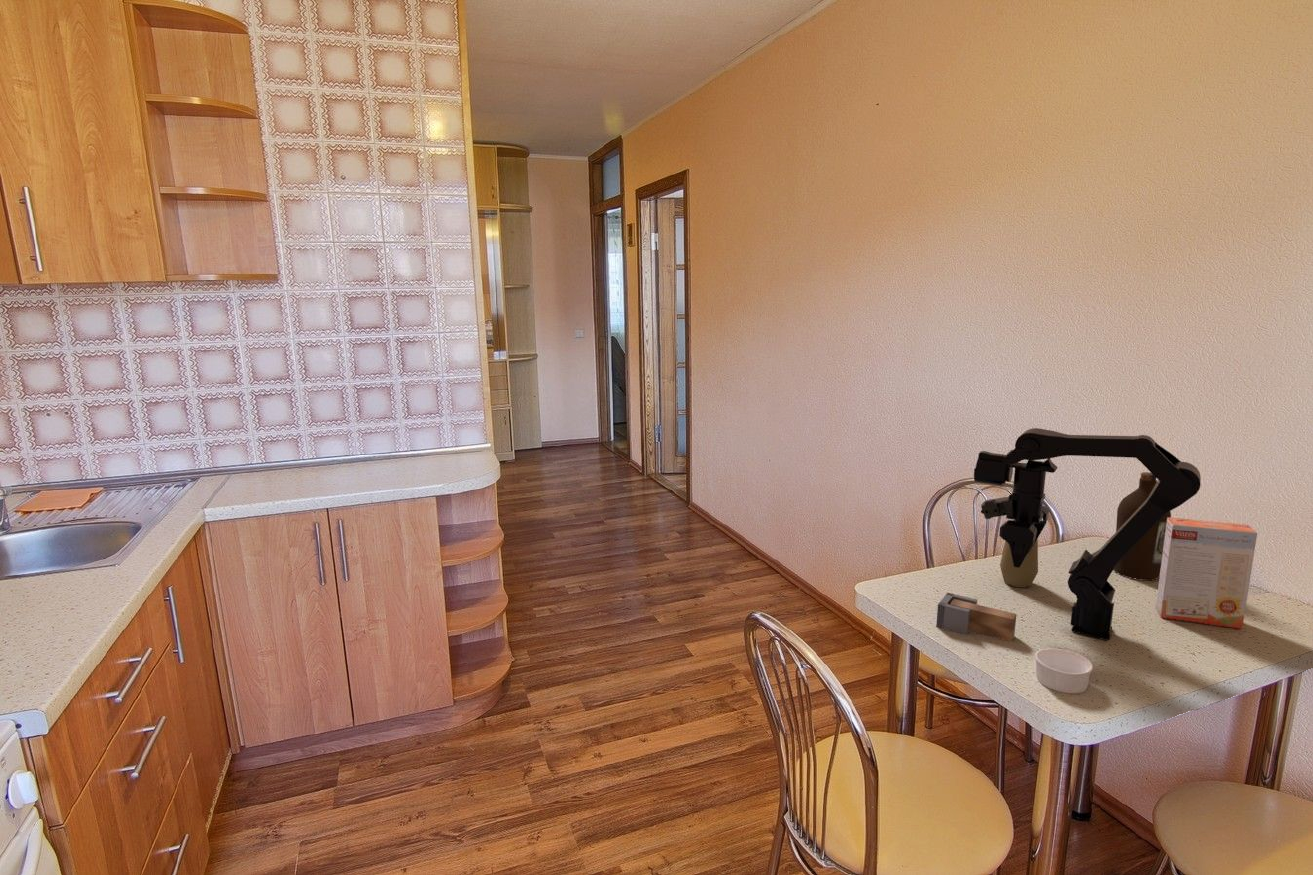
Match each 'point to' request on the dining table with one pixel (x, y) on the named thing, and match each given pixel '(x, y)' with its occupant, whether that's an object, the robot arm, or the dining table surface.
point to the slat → (989, 620)
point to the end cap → (954, 614)
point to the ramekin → (1063, 670)
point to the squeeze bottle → (1024, 572)
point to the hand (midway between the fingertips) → (1021, 560)
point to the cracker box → (1206, 571)
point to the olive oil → (1149, 549)
